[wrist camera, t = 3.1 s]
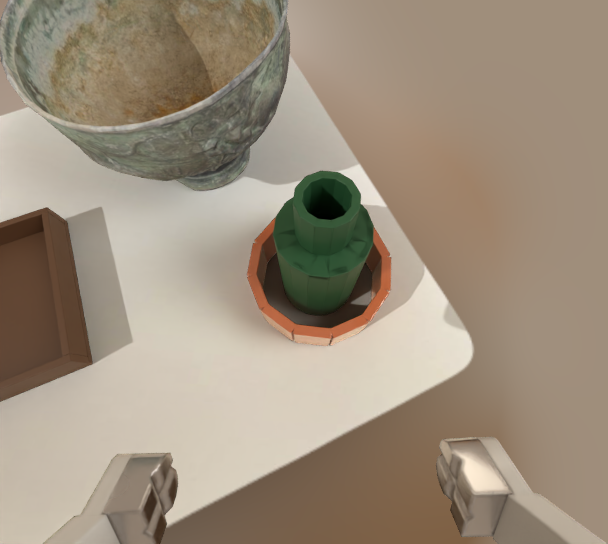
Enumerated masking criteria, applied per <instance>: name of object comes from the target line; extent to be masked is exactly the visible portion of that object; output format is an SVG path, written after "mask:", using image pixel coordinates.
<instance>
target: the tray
mask: <svg viewBox="0 0 608 544" xmlns="http://www.w3.org/2000/svg"><path fill="white" fill-rule="evenodd" d="M91 364H93V363H92V357H91V352H90V346H89V341H88V335H87V329H86V324H85V318H84V313H83V307H82V302H81V296H80V290H79V285H78V279H77V274H76V268H75V263H74V257H73V252H72V246H71V240H70V235H69V229H68V224H67V221H65V220H64V219H63V218H61V217H60V216H58V215H57V214H56V213H54V212H53V211H52V210H50V209H49V208H47V207H46V208H43V209H40V210H37V211H34V212H31V213H28V214H25V215H22V216H19V217H16V218H13V219H10V220H7V221H4V222H1V223H0V402H1V401H3V400H5V399H8V398H10V397H13V396H15V395H18V394H20V393H23V392H25V391H28V390H30V389H32V388H35V387H37V386H40V385H42V384H45V383H47V382H50V381H52V380H55V379H57V378H59V377H62V376H64V375H67V374H69V373H72V372H74V371H77V370H79V369H82V368H84V367H86V366H89V365H91Z"/></svg>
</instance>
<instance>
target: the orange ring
mask: <svg viewBox="0 0 608 544" xmlns="http://www.w3.org/2000/svg"><path fill="white" fill-rule="evenodd" d="M275 219H276V217H275V218H274V219H273V220H272V222H271V223H270V224H269V225H268V226H267V227H266V228H265V229H264V231H263V232H262V233H261V234H260V235H259V236H258V237H257V238H256V240H255V243H253V246H252V251H251V257H250V262H249V267H248V272H247V275H248V277H247V278H248V281H249V283H250V286H251V288H252V291H253V294H254V296H255V299H256V301H257V304H258V306H259V309H260V311H261V313H262V314H263V316H264V318H265V320H266V321H267V322H268V323H269V324H270V325H272V326H273V327H274V328H276V329H277V330H278V331H280V332H281V333H282V334H283V335H285V336H286V337H287V338H289V339H290V340H291V341H293V340H294V339H295V342H297V343H305V344H314V345H322V346H328V344H330V346H331V345H333V344H336V343H338V342H340V341H342V340H345V339H347V338H349V337H351V336H353V335H356V334H358V333H360V332H361V331H362V330H363V329H364V328H365V327H366V326H367V324H368V323H369V322H370V321H371V320H372V318H373V317H374V315H375V314H376V312H377V311H378V309H379V308H380V306H381V305H382V303H383V302H384V300H385V299H386V297H387V296H388V295H389V291H390V290H391V257H389V256H390V254H389V252H388V250H387V248H386V247H385V245H384V243H383V242H382V240H381V238H380V236H379V235H378V233H377V231H376V230H375V228H374V236H373V246H372V248H371V250H370V252H369V255H368V257H367V259H366V261H365V262H366V264H367V265H368V267H369V269H370V271H371V273H372V290H371V302H370V304H369V305H368V307H367V308H366V309H365V311H364V312H363V314H362V315H360V316H357V317H355V318H353V319H351V320H348V321H346V322H344V323H341V324H339V325H337V326H335V327H332V328H325V327H316V326H307V325H298V324H295V323H294V322H292V321H291V320H290V319H288V318H287V317H286V316H284V315H283V314H282V313H280V312H279V311H278V310H276V309H275V308H273V307H272V306H271V305H269V303H268V301H267V298H266V296H265V294H264V291H263V286H264V280H265V274H266V268H267V263H268V262H269V261H270V259H271V258H272V257H273V256H274V255H275V253H276V247H275V242H274V237H273V230H274V225H275Z"/></svg>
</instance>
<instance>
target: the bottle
mask: <svg viewBox="0 0 608 544" xmlns="http://www.w3.org/2000/svg"><path fill="white" fill-rule="evenodd" d="M360 201H361V194H360V192H359V190H358V189H357V187H356V185H355V184H354V182H353V181H352V180H351V179H349V178H347V177H346V176H344V175H342V174H341V173H338V172H330V171H319V172H316V173H314V174H311V175H308V176H306V177H305V178H304V179H303V180H302V181H301V182H300V183H299V184H298V185H297V187H296V188H295V192H294V197H293V198H291V199H290V200H288V201H287V202H286V203H285V204H284V206H283V207H282V209H281V210H280V212H279V213H278V214H277V216H276V219H275V225H274V230H273V237H274V242H275V247H276V252H277V256H278V261H279V266H280V271H281V276H282V281H283V285H284V289H285V292H286V295H287V297H288V299H289V300H290V302H291V303H292V304H293V305H294V306H295V307H296V308H297V309H299V310H301V311H302V312H305V313H307V314H311V315H326V314H330V313H332V312H334V311H336V310H338V309H339V308H341V307H342V306H343V305H344V304H345V303H346V301H347V300H348V298H349V296H350V294H351V292H352V290H353V288H354V286H355V284H356V281H357V279H358V277H359V275H360V272H361V270H362V268H363V266H364V263H365V261H366V259H367V257H368V255H369V252H370V250H371V248H372V246H373V236H374V226H373V223H372V221H371V219H370V216H369V214H368V211H367V210H366V209H365V208H364V207H363V206H362V205H361V204H360Z"/></svg>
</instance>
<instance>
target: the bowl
mask: <svg viewBox="0 0 608 544" xmlns="http://www.w3.org/2000/svg"><path fill="white" fill-rule="evenodd" d="M287 8H288V0H8V3H7V5H6V7H5V9H4V12H3V15H2V17H1V20H0V57H1V63H2V65H3V68H4V71H5V73H6V76H7V79H8V81H9V82H10V84H11V85H12V87H13V88H14V89H15V91H16V92H17V93H18V95H19V96H20V97H21V99H22V100H23V101H24V103H25V104H26V105H28V106H29V107H30V108H31V109H33V110H34V111H35V112H37V113H38V114H39V115H41V116H42V117H44V118H45V119H46V120H47V121H48V122H49V123H51V124H52V125H53V126H54V127H55V128H56V129H58V130H59V131H60V132H61V133H62V134H64V135H65V136H66V137H67V138H69V139H70V140H71V141H72V142H74V143H75V144H76V145H78V146H79V147H80V148H81V149H82V151H83V152H84V153H86V154H87V155H88V156H89V157H90V158H91V159H92V160H94V161H95V162H97V163H98V164H100V165H103V166H105V167H107V168H110V169H113V170H115V171H118V172H121V173H125V174H129V175H134V176H138V177H142V178H148V179H155V180H162V181H168V180H174V179H176V180H178V181H179V182H181V183H183V184H184V185H186V186H188V187H190V188H192V189H193V190H211V189H214V188H218V187H221V186H223V185H225V184H227V183H229V182H231V181H232V180H234V179H235V178H236V177H237V176H238V175H239V174H240V173H241V172H243V170H244V169H245V167H246V165H247V163H248V161H249V154H250V146H251V145H252V144H253V143H255V142H256V141H257V139H258V138H259V137H260V136H261V134H262V133H263V132H264V131H265V129H266V127H267V126H268V124H269V123H270V121H271V119H272V118H273V116H274V115H275V112H276V109H277V106H278V103H279V100H280V97H281V94H282V91H283V88H284V85H285V82H286V78H287V70H288V62H289V54H290V32H289V27H288V23H287Z"/></svg>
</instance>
